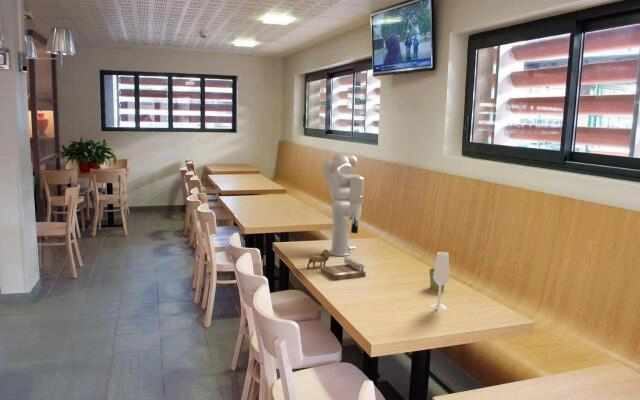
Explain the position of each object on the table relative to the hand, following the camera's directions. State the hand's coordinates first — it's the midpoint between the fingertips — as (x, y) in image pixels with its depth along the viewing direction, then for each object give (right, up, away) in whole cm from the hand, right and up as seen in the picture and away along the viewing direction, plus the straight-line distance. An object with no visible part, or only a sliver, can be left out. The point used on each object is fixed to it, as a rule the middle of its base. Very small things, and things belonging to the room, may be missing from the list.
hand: (354, 232), depth 275 cm
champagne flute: (+33, -29, -55) cm, 70 cm away
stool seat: (-7, -20, -13) cm, 25 cm away
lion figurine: (-19, -18, -2) cm, 27 cm away
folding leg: (-1, -17, -10) cm, 20 cm away
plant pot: (+38, -25, -30) cm, 54 cm away
